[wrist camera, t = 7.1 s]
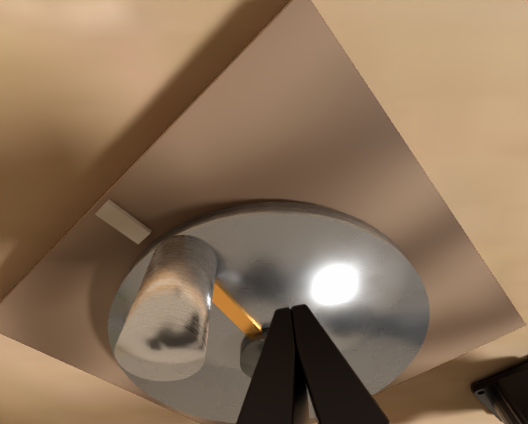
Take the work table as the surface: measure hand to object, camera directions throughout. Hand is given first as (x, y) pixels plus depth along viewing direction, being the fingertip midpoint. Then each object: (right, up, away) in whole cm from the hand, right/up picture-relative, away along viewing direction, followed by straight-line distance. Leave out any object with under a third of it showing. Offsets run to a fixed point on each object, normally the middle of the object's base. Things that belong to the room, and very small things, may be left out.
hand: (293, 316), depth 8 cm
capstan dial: (-1, -3, +8) cm, 8 cm away
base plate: (-1, -2, +9) cm, 9 cm away
